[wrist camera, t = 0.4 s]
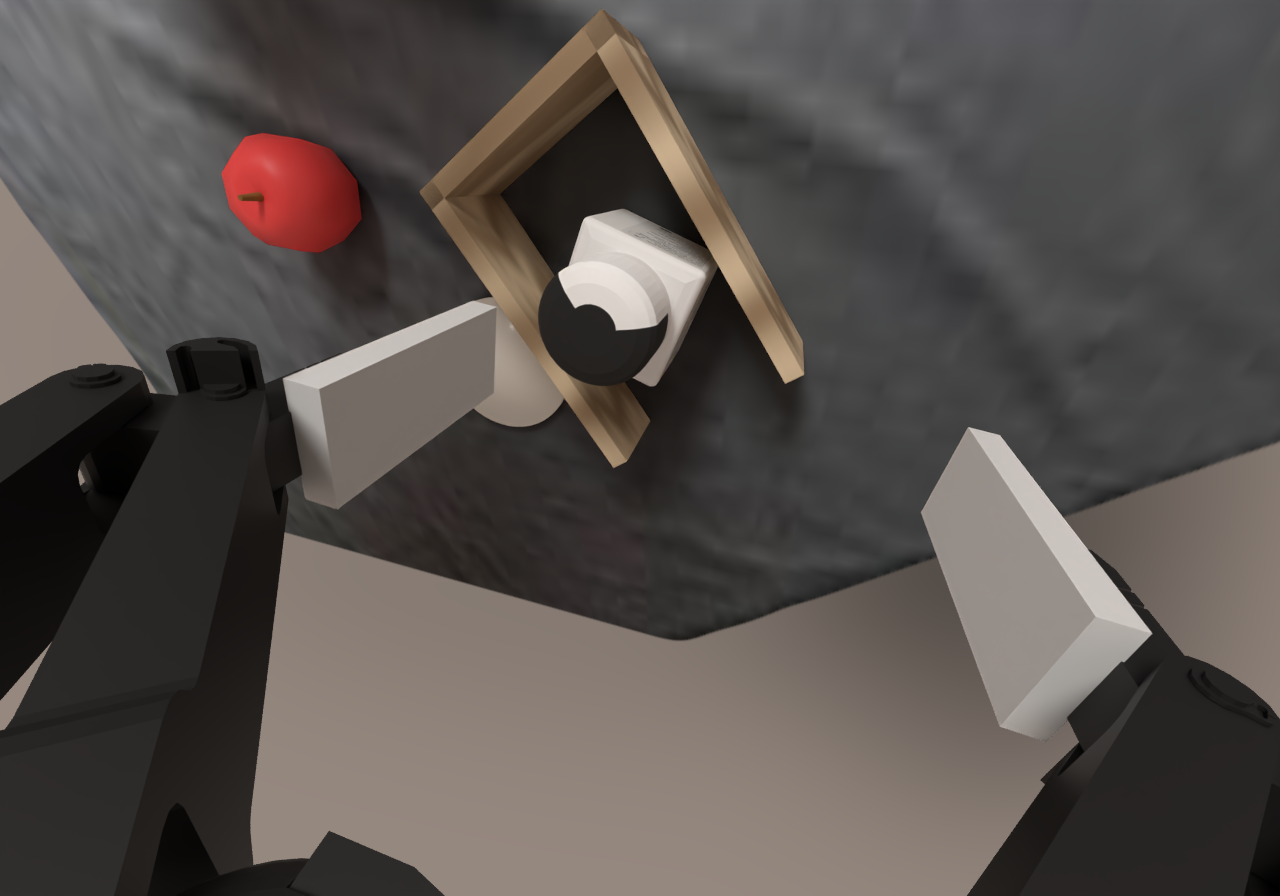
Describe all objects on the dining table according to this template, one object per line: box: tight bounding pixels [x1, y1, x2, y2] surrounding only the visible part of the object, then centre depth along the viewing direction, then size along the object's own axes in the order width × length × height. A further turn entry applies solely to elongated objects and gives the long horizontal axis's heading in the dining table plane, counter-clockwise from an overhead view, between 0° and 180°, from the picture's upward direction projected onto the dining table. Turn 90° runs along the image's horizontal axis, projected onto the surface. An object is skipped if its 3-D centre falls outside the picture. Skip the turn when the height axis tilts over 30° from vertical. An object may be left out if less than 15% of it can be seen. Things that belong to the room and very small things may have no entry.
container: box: [538, 209, 718, 387], centre depth 32 cm, size 8×8×13 cm
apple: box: [222, 133, 362, 253], centre depth 38 cm, size 8×8×8 cm
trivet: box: [474, 297, 564, 427], centre depth 44 cm, size 11×11×1 cm
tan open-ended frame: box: [420, 9, 804, 468], centre depth 34 cm, size 21×14×7 cm
